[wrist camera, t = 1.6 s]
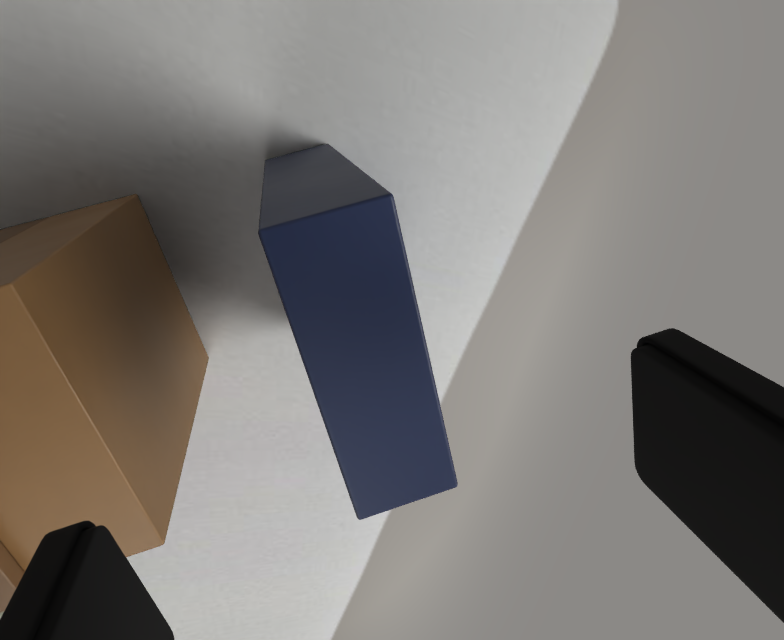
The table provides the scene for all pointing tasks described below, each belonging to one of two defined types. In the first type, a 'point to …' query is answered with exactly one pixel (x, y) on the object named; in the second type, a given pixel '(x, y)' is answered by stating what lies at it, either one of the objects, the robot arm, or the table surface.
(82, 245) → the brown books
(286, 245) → the navy book
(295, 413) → the table surface
